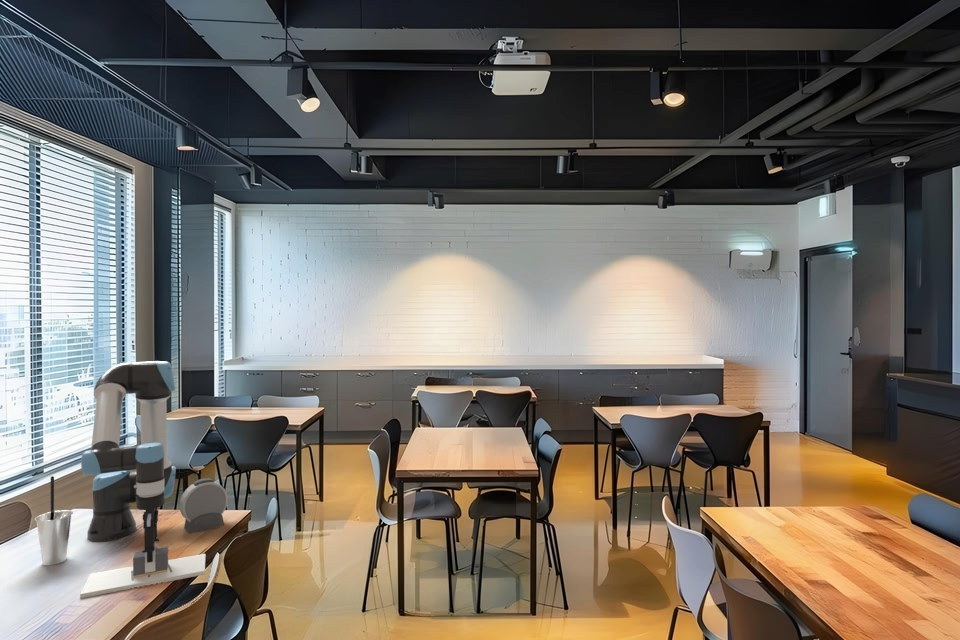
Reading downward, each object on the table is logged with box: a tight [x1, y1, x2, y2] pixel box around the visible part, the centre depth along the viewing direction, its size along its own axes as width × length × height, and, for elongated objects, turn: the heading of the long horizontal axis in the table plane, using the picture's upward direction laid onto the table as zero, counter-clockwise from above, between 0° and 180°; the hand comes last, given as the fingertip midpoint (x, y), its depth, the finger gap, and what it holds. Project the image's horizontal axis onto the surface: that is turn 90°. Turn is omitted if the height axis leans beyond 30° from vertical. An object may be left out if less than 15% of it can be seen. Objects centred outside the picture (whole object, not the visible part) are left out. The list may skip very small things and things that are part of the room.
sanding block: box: [132, 546, 169, 578], centre depth 170 cm, size 5×9×6 cm, turn 117°
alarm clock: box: [179, 477, 229, 534], centre depth 210 cm, size 16×10×18 cm, turn 133°
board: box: [79, 553, 207, 599], centre depth 169 cm, size 14×32×1 cm, turn 116°
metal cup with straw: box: [34, 476, 74, 566], centre depth 180 cm, size 11×11×30 cm
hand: (151, 567), depth 170 cm, fingers closed on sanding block, 5 cm apart
